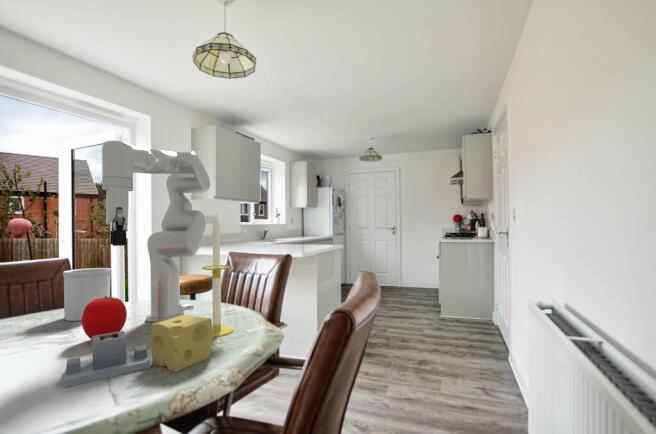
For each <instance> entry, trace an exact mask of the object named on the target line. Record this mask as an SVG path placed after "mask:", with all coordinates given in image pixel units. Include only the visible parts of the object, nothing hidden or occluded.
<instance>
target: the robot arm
mask: <svg viewBox="0 0 656 434" xmlns="http://www.w3.org/2000/svg"><path fill="white" fill-rule="evenodd" d="M101 146H102V148H101V161H102V162H101V164H102V165H101V173H102V174H101V176H102V181H101V182H102V183H101V186H102V187H101V189H102V191H106V194H105V196H106V198H105V224H106V225H111V227H110V231H109V232H110V234H109V235H110V242H109V243H110V245H112V246H114V247H118V246H120V247H123V246H124V247H125V246H127V230H126V224H127V223H128V220H129V197H130V196H129V192H133V191H134V173H135V174H136V173H137V174H146V175H152V174H153V175H159V174H160V175H168V177H167V179H166V190H167V191H168V197H169V205H168V207H167V209H166V212H165V214H164V216H163V218H162V221H161V231H156V232H153V233H151V235H149V237H148V239H147V243H146V245H147V246H146V247H147V251H148V256H149V262H150V263H149V265H150V314H148V315H146V316H145V321H146V322H148V323H156V322H161V321H165V320H168V319H172V318H175V317H178V316H182V315H185V311H191V310H194V303H191V304H187V303H186V304H181V303H180V301H181V300H180V294H181V292H180V288H181V287H180V285H181V284H180V283H181V282H180V273H181V272H180V267H179V265H178V263H177V261H176V260H175V258H189V257H190V258H191V257H193V256H195V255H197V253H198V251H199V248H200V247H201V246H200V245H201V243H202V240H203V236H204V233H205V231H206V226H207V225H206V224H207V222H206V216H205V214H204V212H202V211H201V210H199V209H198V210H196V209H193V204H192V202H191V200H190V199H189V198H188V196H186V195H185V194H198V193H199V194H201V193H202V194H203V193H206V192H208V191H209V190H210V189H211V179H210V176H209V174H208V172H207V170H206V168H205V165H204V163H203V161H202V159H201V158H200V157H199V155H198V154H197V153H195V152H194V151H170V150H162V149H158V148H157V149H154V148H153V149H148V148H146V147H144V146H143V147H141V146H135V145H131V144H130V143H128V142H126V141H122V140H107V141H104V142H103V143H102V145H101Z"/></svg>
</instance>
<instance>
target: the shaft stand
mask: <svg viewBox="0 0 656 434" xmlns="http://www.w3.org/2000/svg"><path fill="white" fill-rule="evenodd" d="M107 339H111V338H107ZM104 340H105V339H104ZM133 348H134V349H133V350H132V351H126V364H121V365H117V366H112V367H107V368H103V369H98V370H94V371H93V358H92V359H87V360H81V356H80V357H75V358H68V359H67V360H66V366H65V367H66V368H65V374H64V379H63V380H64V383H63V384H64V385H63V387H64V388H68V387H73V386H77V385H81V384H85V383H89V382H93V381H98V380H102V379H106V378H112V377H116V376H119V375H123V374H128V373H132V372H137V371H141V370H145V369H149V368H151V360H150V357H149V355H148V347H147V345H146V344H140V345H136V346H134V347H133Z"/></svg>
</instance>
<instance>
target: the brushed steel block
mask: <svg viewBox="0 0 656 434" xmlns="http://www.w3.org/2000/svg"><path fill="white" fill-rule="evenodd" d="M107 338H111V339H107ZM104 339H105V340H104ZM126 352H127V336H126V332H125V330H121V331H119V332H113V333H107V334H101V335H95V336H93V340H92V359H93V371H94V370H98V369H103V368H107V367H112V366H117V365H121V364H126Z"/></svg>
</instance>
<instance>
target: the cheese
mask: <svg viewBox="0 0 656 434" xmlns="http://www.w3.org/2000/svg"><path fill="white" fill-rule="evenodd" d="M212 327H213V319H212V318H210V317H200V316H194V315H190V314H184V315H182V316H178V317H175V318H172V319H168V320H165V321H161V322H152V323H151V362H152V364H154V365H157V366H159V367H160V366H161V367H167V369H168V370H171V372H174V373H177V372H180V371H182V370H184V369H186V368H188V367H191V366H193V365H195V364H198V363H200V362H203V361H206V360H209V359H210V358H211V353H212V352H211V351H212V345H213V337H212V336H213V330H212Z"/></svg>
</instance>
